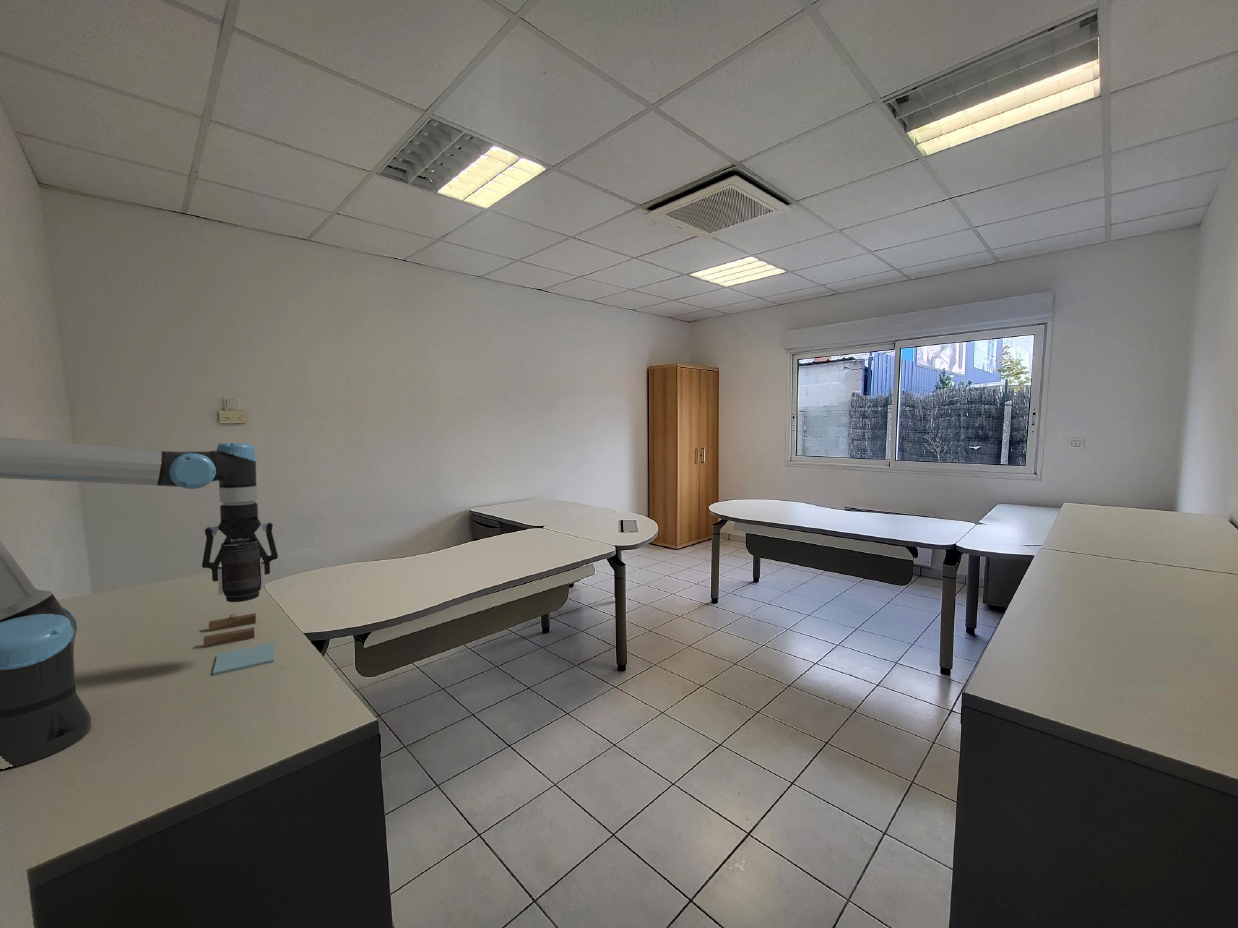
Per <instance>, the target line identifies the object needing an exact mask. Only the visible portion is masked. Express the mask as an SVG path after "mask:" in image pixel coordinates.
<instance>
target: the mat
mask: <svg viewBox="0 0 1238 928" xmlns="http://www.w3.org/2000/svg"><path fill="white" fill-rule="evenodd" d="M274 645H275V643H274V642H271V643H267V644H266V643H265V644H261V645H256V646H252V647H247V648H245V647H244V648H242V649H236V650H232V651H226V652H222V653H218V654H216V660H215V663H214V668H213V671H212V676H216V675H221V674H225V673H229V672H235V671H240V670H243V669H248V668H252V667H257V666H261V665H264V664H265V665H266V664H271V663H274V662H275V660H274V659H275V658H274V657H275V656H274V653H275V652H274V649H275V646H274Z"/></svg>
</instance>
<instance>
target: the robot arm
mask: <svg viewBox="0 0 1238 928" xmlns="http://www.w3.org/2000/svg"><path fill="white" fill-rule="evenodd" d="M0 479H2V480H3V479H7V480H26V481H27V480H29V481H47V482H48V481H50V482H71V483H72V482H73V483H91V484H92V483H94V484H115V485H116V484H117V485H118V484H119V485H137V486H158V487H177V488H178V487H179V488H183V489H187V490H190V489H191V490H192V489H193V490H194V489H195V490H196V489H200V488H201V489H202V488H204V487H206V486H207V485H209V484H210V483H212V482H217V481H218V483H219V484H218V485H219V486H218V490H219V491H218V492H219V495H218V496H219V503H221V504H220V506H219V510H220V511H219V513H220V523H219V524H218V525H215V526H212V527H211V526H208V527H206V528H205V530H204V534H205V537H206V540H205V546H204V551H203V556H202V557H203V558H202V563H201V567H202V568H204V569H210V570H211V577H212V579H211V580H212V582H217V585H218V595H224V591H223V576H222V566H220V564H221V549H220V548H222V547H221V546H220V548H219V551H218V552H217V554H216V557H215V559H214V561H212V562H211V561H210V560H211V556H212V550H213V543H214V539H215V538H214V537H215V536H216V535H217V533H218V531H220V532H221V533H222V534H223V535H224V536H225V539H224V541H223V542H222V543H223V545H229V543H230V541H231V540H237V539H248V538H249V539H250V541H251V542H254V541H258V540H259V539H258V537H257V535H256V532H257V530H258V529H259V528H260V527H261V528H262V530H263V532H265V534H266V539H267V544H268V547H269V551H270V555H268V553H267V552H266V550H265V548H264V546H263V545H262V543H261V542H260V541H259V542H258V544H259V552H260V556H261V557H260V558H261V559H262V561H260V568H261V589H265V588H266V577H265V576H267V575H270V573H271V566H270V565H271V562H272V561H275V560H277V559H278V557H279V556H278V552H277V547H276V543H275V540H274V539H275V538H274V535H273V527H274V526H273V525H274V524H273V522H272V521H268V522H262V521H260V519H259V511H258V510H259V509H258V508H259V507H258V503H257V502H256V501H257V500H258V487H257V486H258V485H257V458H256V449H255V446H254V445H253V444H252V443H249V442H220V443H218V444H217V446H216V450H212V451H211V450H208V451H193V450H192V451H172V450H170V451H164V450H156V449H144V448H134V447H133V448H131V447H124V446H123V447H122V446H109V445H100V444H99V445H98V444H90V443H89V444H87V443H76V442H63V441H53V440H42V439H31V438H21V437H20V438H18V437H7V436H0ZM75 617H76V616H74V614H73V613H72V612H71V611H69V610H68V609H67V608H65V607H63V606H62V605H61V603H60V602H59V600H58V599H57V598H56V597H55V595H54V594H53V592H52V591H50V590H45V589H38V588H36V587H35V586H34V585H33V583H32V582H31V580H30V579H29V578H28V576H27V575H26V573H25V572H24V571H23V569H22V568H21V566H20V565H19V564H18V562H17V561H16V559H15V558H14V557H13V555H12V554H11V552H10V551H9V549H8V548H7V547H6V546H5V544H4V542H3V541H2V540H1V539H0V756H2V758H3V759H5V761H7V762H9V764H12V765H13V766H16V767H19V766H24V765H26V764H29V763H32V762H36V761H39V760H42V759H44V758H46V757H49V756H51V755H54V754H55V753H58V752H60V751H62V750H64V749H66V748H68V747H70V746H72V745H73V744H76V742H78V741H80V740H81V739H83V738H84V737H85V736H86V735H87V734H88V733H89V732H90V731H91V730H92V726H93V725H92V717H91V713H90V712H89V710H88V709H87V707H86V705H85V704H84V703H83V701H82V700H81V697H79V695H78V694H77V691H76V689H77V688H76V676H75V675H76V673H75V658H74V657H75V656H74V653H75V652H74V649H75V648H74V647H75V639H76V636H77V632H78V623H77V620H76V618H75ZM16 767H15V768H16Z"/></svg>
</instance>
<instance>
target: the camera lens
mask: <svg viewBox="0 0 1238 928" xmlns="http://www.w3.org/2000/svg"><path fill="white" fill-rule="evenodd" d="M258 542H260V539H258V541H254V542H251V541H250V539H249V538H248V539H237V540H232V539H231V541H230V543H229V545H223V542H222V543H220V548H219V550H220V549H221V562H220V564H221V567H222V576H223V591H224V592H223V595H224V596H225V600H226V602H228V603H240V602H241V603H242V602H248V601H251V600H255V599H257V598H258V597H259V596H260V590H261V589H262V588H261V559H262V558H261V556H260V552H259V544H258ZM221 547H222V548H221Z"/></svg>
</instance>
